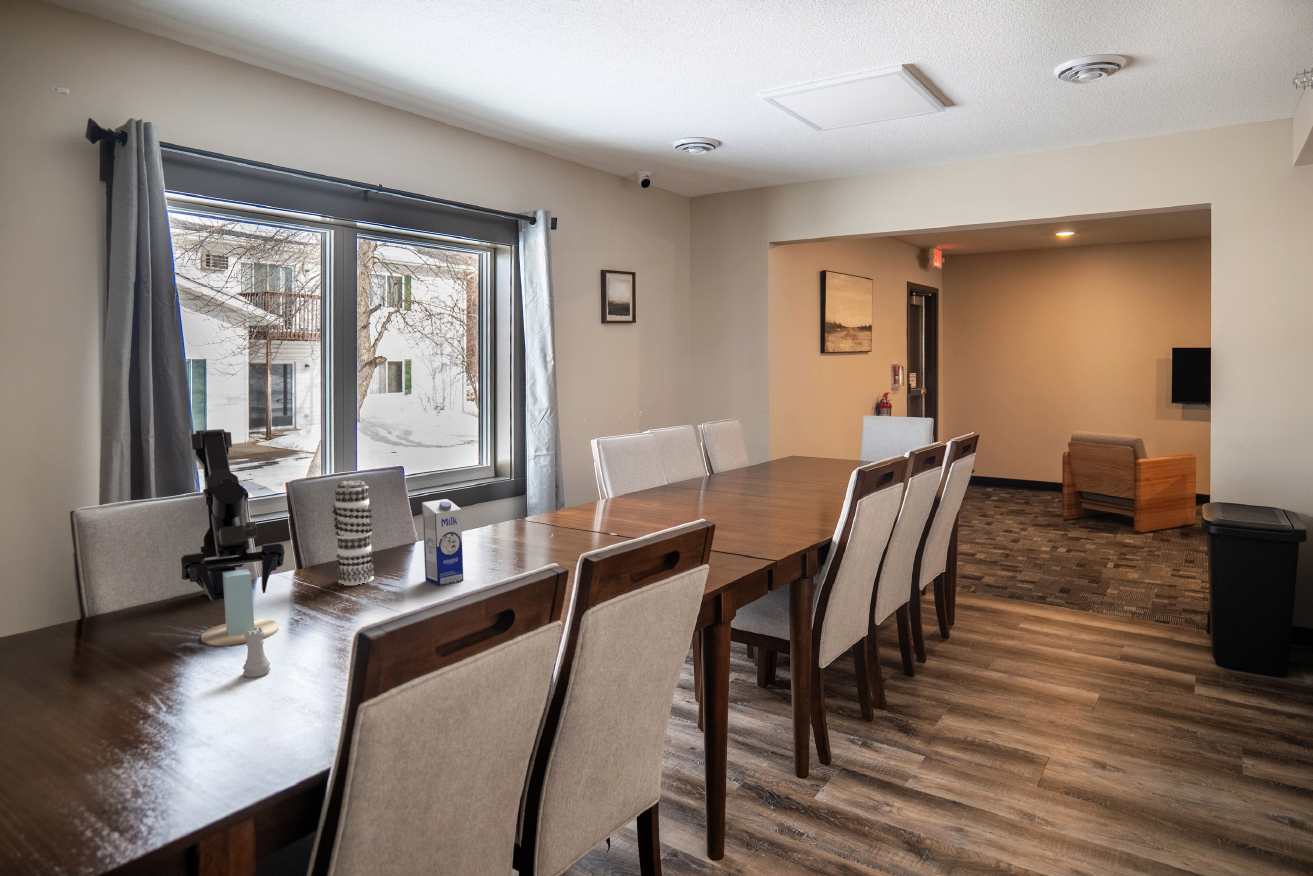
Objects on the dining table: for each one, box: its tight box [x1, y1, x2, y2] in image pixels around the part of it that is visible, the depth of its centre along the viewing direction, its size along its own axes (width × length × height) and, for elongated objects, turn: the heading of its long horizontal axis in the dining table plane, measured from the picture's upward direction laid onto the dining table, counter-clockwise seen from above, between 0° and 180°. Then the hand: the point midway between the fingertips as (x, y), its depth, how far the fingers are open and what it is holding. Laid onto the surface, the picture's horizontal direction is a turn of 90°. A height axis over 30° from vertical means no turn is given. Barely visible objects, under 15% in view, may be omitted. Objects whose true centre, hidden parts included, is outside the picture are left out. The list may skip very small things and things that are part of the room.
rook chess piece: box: [242, 628, 271, 679], centre depth 144 cm, size 4×4×8 cm
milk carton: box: [421, 498, 464, 587], centre depth 201 cm, size 7×7×20 cm
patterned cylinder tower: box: [332, 479, 375, 586], centre depth 202 cm, size 9×9×25 cm
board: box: [200, 618, 280, 647], centre depth 165 cm, size 14×14×1 cm
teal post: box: [223, 568, 255, 636], centre depth 164 cm, size 5×5×12 cm
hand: (239, 596), depth 163 cm, fingers open, 9 cm apart
